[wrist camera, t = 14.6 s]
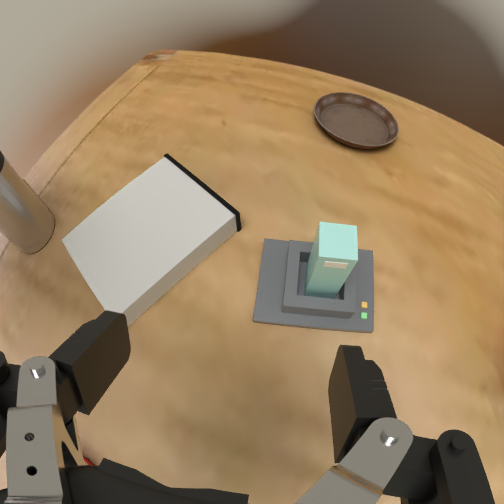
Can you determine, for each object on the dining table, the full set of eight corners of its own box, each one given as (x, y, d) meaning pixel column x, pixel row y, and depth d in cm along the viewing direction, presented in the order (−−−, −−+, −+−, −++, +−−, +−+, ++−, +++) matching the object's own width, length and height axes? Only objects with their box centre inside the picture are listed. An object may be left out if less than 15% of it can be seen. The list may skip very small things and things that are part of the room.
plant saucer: (349, 94, 63) (351, 84, 60) (409, 137, 56) (413, 127, 54) (294, 118, 59) (295, 107, 56) (360, 170, 52) (364, 158, 49)
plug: (303, 296, 40) (318, 256, 30) (305, 268, 42) (319, 221, 32) (333, 299, 40) (358, 260, 29) (334, 271, 42) (356, 225, 31)
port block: (253, 322, 40) (252, 313, 37) (264, 241, 45) (264, 227, 42) (370, 333, 39) (381, 326, 35) (370, 253, 44) (379, 240, 41)
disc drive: (242, 230, 47) (240, 211, 43) (127, 331, 40) (112, 321, 36) (173, 172, 53) (167, 152, 49) (74, 252, 46) (60, 238, 42)
